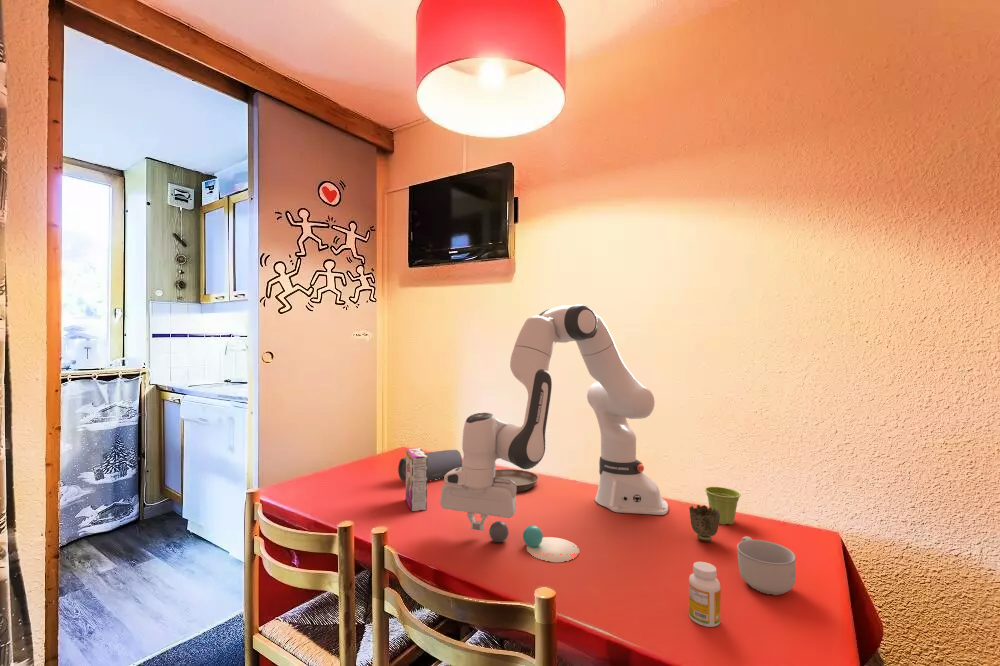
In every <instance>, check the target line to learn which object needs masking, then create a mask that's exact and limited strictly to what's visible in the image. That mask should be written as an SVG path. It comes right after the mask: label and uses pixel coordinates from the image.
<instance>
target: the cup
mask: <svg viewBox="0 0 1000 666" xmlns="http://www.w3.org/2000/svg"><path fill="white" fill-rule="evenodd" d="M688 507H689V508H688V509H689V518H690V525H691V528H692V530H693V531H694V532H695V534H696V538H697V540H699V541H700V542H702V543H710V542H712V541H713V538H712V537H713V536H715V535H716V534H717V533H718V529H719V526H720V525H719V519H720V512H718V510H717V511H716V509H713V511H712V508H711V507H710V508H709V507H708V506H706V505H705V504H703V505H699V504H697V505H696V507H694V505H691V506H688Z"/></svg>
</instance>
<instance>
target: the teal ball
mask: <svg viewBox="0 0 1000 666" xmlns="http://www.w3.org/2000/svg"><path fill="white" fill-rule="evenodd" d="M523 530H524V531H523V534H522V538H523V541H524V544H526V546H527V545H528V546H530V547H537V546H539V545H540V544H541V542H542V539H543V537H544V535H543V531H542V529H540V527H538V526H537V525H528V526H526V528H525V529H523Z"/></svg>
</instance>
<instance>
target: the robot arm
mask: <svg viewBox="0 0 1000 666" xmlns="http://www.w3.org/2000/svg"><path fill="white" fill-rule="evenodd" d="M569 342H575V343H576V345H577V347H578V350H579V353H580V356H581V357H582V359H583V362H584V364H585V366H586V369H587V372H588V374H589V376H591V377H592V378H593V379H594V380H595V382H594V383H592V384H591V385H590V386H589V388H588V391H587V393H586V394H587V395H586V398H587V402H588V404H589V405H590V407H591V409H593V411H594V413H595V416H596V419H597V423H598V426H599V431H600V456H599V460H598V474H599V481H598V482H599V483H598V488H597V493H596V494H595V499H594V500H595V502H596V503H597V504H599V505H600V506H603V507H604V508H607V509H609V510H610V511H612V512H615V513H622V514H623V513H624V514H639V515H640V514H641V515H654V516H655V515H657V516H663V515H666V514H668V512H669V505H668V502H667V501H666V500H665V499H664V498H662V495H661V491H660V488H659V486H658V484H657V483H656V482H655V481H653V480H652V479H651V478H650V477H649V476H648V475H646V474H645V473H644V470H645V466H644V465H643V463H642V461H641V460H638V459H637V437H636V433H635V432H634V431H633V429H632V428H631V427H630V425H629V423H628V420H627V419H629V420H642V419H646V418H648V417H649V416H650V415H651V414H652V413H653V411H654V408H655V402H656V401H655V397H654V394H653V393H652V391H651V390H650V389H648V388H647V387H645V385H643V384H642V383H641V382H639V380H638V379H637V378H636V377H635V376H634V375H633V374H632V372H631V371H630V369H628V367H627V366H626V364H625V363H624V360H623V358H622V357H621V354H620V352H619V351H618V348H617V346H616V344H615V341H614V339H613V337H612V335H611V332H610V331H609V329H608V327H607V325H606V323H605V322H604V321H603V318H601V316H599V315H598V314H596V313H595V312H594V310H593V309H592V308H591V307H590V306H588V305H585V304H580V303H577V304H572V305H571V304H570V305H561V306H558V307H554V308H550V309H546V310H544V311H542V312H540V313H539V314H538V315H533V316H530V317H528V318H527V319H526V320H525V322H524V323H523V325H522V327H521V329H520V331H519V333H518V336H517V338H516V341H515V344H514V347H513V350H512V352H511V356H510V363H509V367H510V371H511V372H512V375H513V376H514V377H515V378H516V379H517V380H518V381H519V382H520V383H521V384H522V385H523V386H524V387H525V389H526V390H527V402H526V408H525V413H524V414H525V415H524V420H523V424H522V425H521V426H517V425H515V424H511V423H508V422H506V421H502V420H501V419H498V418H497V417H495V416H494V415H493V413H491V412H477V413H474V414H471V415H469V416H468V417H467V418H466V419H465V422H464V425H463V430H462V444H461V446H462V454H463V458H462V467H460V468H455V469H453V470H451V471H449V472H448V473H447V474H446V475H445V476H444V478H443V482H444V484H443V485H442V486H441V491H440V499H439V501H440V502H439V503H440V506H441V508H442V509H444V510H451V511H456V512H457V511H458V512H465V513H466V516H467V518H468V520H469V522H470V529H471V530H475V531H481V532H482V531H483V530H484V526H485V524H484V523H485V521H486V520H487V518H488V517H489V516H493V517H498V518H500V517H501V518H507V519H511V518H513V516H515V514H516V512H517V499H516V496H517V493H518V492H517V487H516V485H515V483H514V482H512V481H511V480H509V479H506V480H505V479H500V478H495V470H496V461H497V460H499V459H501V460H502V461H505V462H508V463H511V464H513V465H514V466H515V467H518V468H520V469H521V470H530V469H533V468H534V467H536V466H537V465H538V464H539V463H540V462H541V461H543V460H542V459H543V458H544V455H545V453H546V429H547V423H548V417H549V409H550V403H551V395H552V388H553V387H552V385H553V384H552V377H551V375H550V362H551V358H552V354H553V350H554V347H555V345H556V343H562V344H564V343H565V344H566V343H569ZM596 381H597V382H596ZM511 483H512V484H511ZM475 514H479V515H480V516H479V517H480V518H481V520H476V518H475Z"/></svg>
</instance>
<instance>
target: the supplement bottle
mask: <svg viewBox="0 0 1000 666" xmlns="http://www.w3.org/2000/svg"><path fill="white" fill-rule="evenodd" d="M692 572H693V573H691V574H690V575H689V578H688V616H689V618H690V619H691V620H692V621H693V622H694V623H696V624H698V625H701V626H702V627H706V628H715V627H717V626H719V625H720V624H721V591H722V590H721V588H722V587H721V583H720V581H719V579H718V578H717V567H716V566H715V565H714V564H711V563H710V562H705V561H696V562H694V563H693V565H692Z"/></svg>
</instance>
